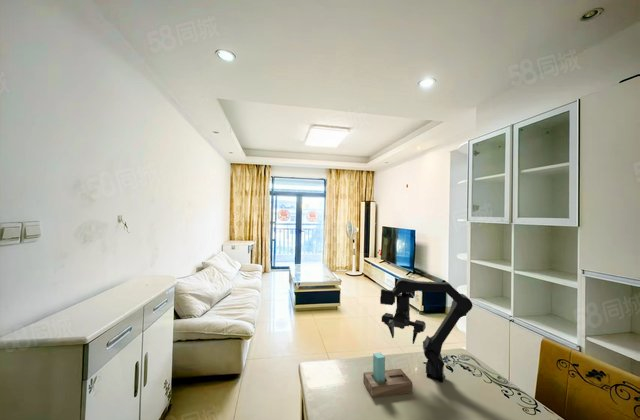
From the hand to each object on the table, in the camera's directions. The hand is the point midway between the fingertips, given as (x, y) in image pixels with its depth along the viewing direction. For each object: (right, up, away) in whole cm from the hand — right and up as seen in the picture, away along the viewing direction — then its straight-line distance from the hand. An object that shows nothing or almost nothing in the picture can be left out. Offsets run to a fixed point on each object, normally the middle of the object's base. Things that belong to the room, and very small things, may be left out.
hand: (402, 340), depth 111 cm
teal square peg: (-14, -12, -13) cm, 23 cm away
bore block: (-11, -12, -13) cm, 21 cm away
